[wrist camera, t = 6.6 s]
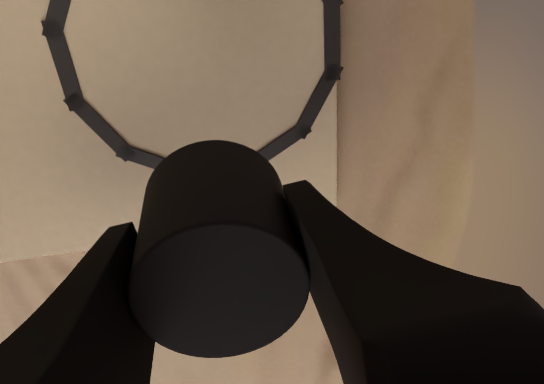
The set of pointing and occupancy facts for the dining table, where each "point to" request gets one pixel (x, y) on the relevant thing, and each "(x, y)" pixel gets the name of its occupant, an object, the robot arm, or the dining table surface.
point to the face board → (152, 103)
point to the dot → (216, 253)
